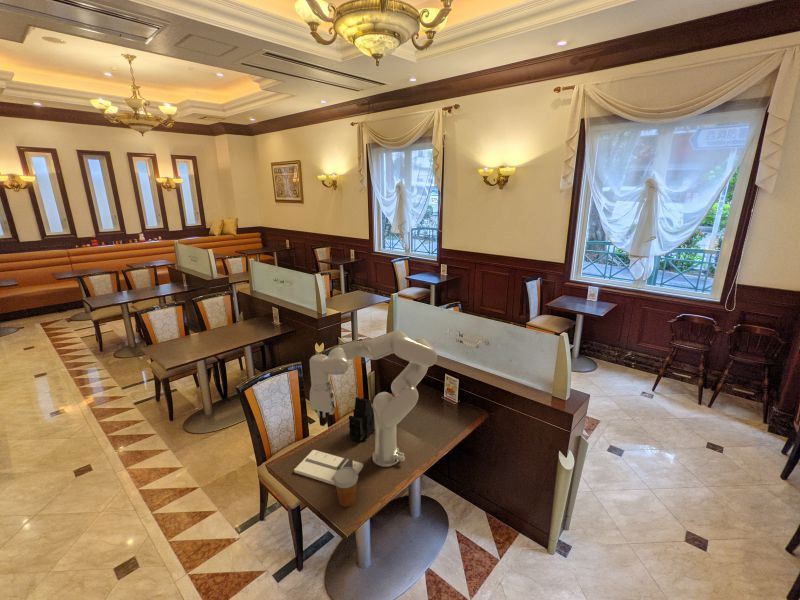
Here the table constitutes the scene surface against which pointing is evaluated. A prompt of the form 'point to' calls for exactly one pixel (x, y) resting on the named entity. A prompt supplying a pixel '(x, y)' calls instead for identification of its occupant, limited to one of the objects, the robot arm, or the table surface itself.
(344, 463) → the fader knob
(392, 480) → the table surface
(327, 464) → the fader console
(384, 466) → the robot arm
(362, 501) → the table surface
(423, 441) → the table surface
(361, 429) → the camera
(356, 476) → the disposable coffee cup
